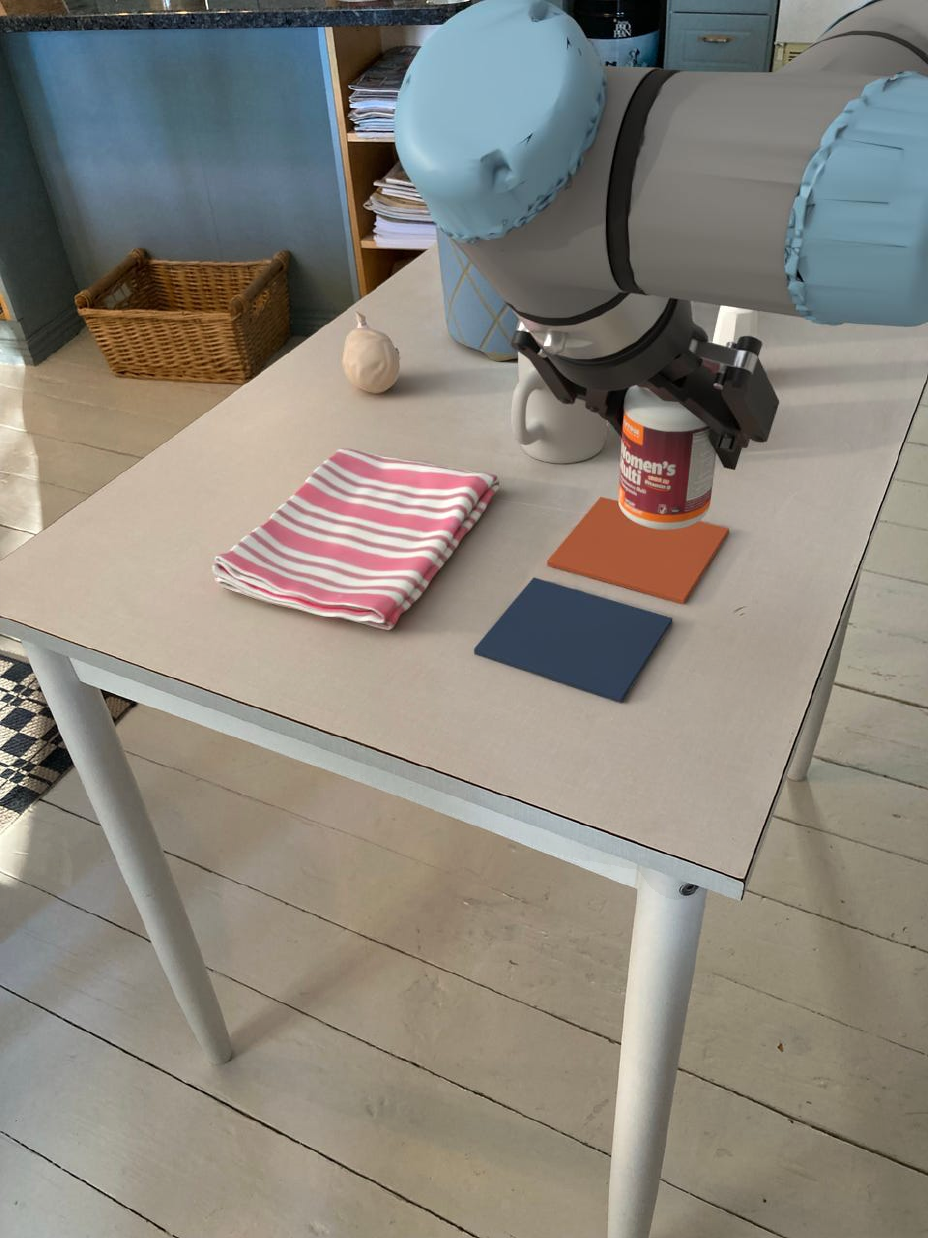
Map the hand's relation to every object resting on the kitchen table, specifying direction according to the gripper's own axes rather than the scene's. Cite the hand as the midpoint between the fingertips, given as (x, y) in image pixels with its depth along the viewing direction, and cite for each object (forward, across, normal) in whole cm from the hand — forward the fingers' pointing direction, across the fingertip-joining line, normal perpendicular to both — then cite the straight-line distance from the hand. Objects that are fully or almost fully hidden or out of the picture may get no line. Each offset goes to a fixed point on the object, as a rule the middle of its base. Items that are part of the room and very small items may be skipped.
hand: (686, 439), depth 68 cm
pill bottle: (0, 0, -5) cm, 5 cm away
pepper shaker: (+39, -8, +18) cm, 44 cm away
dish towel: (+10, -27, -12) cm, 32 cm away
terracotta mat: (+16, -5, -6) cm, 18 cm away
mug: (+25, -19, +3) cm, 31 cm away
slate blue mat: (+7, -5, -15) cm, 17 cm away
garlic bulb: (+28, -43, +6) cm, 52 cm away
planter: (+42, -35, +20) cm, 58 cm away
